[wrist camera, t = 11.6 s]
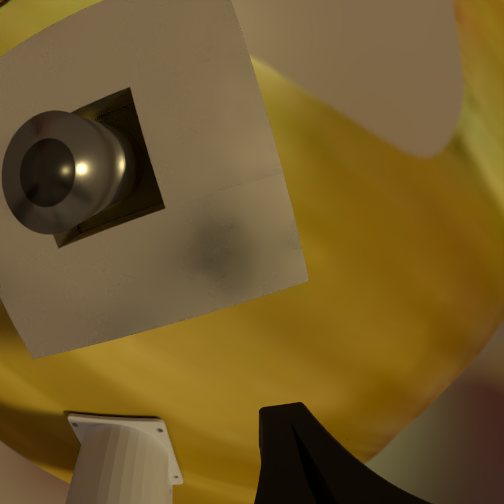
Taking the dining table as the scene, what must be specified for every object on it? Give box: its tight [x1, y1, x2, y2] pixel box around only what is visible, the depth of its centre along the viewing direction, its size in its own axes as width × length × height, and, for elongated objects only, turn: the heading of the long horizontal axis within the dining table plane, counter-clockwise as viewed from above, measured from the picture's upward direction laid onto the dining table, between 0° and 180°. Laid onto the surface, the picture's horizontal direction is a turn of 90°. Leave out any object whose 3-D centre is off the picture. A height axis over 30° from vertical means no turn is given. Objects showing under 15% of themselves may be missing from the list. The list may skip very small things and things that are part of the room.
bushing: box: [2, 110, 144, 235], centre depth 11 cm, size 4×4×7 cm
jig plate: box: [0, 0, 309, 359], centre depth 13 cm, size 16×16×3 cm
